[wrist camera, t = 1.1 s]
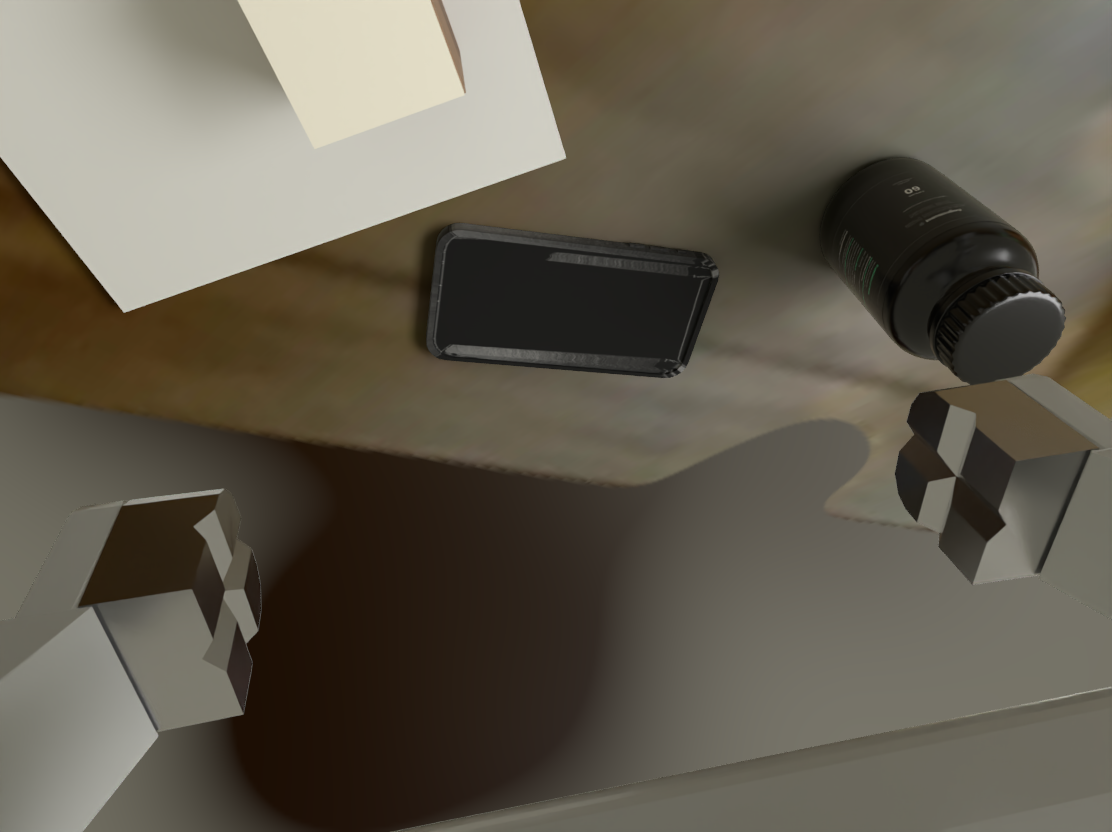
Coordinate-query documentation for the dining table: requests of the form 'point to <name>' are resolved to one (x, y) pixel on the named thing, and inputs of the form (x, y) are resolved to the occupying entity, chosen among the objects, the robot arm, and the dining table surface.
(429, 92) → the walnut cube
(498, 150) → the white mat
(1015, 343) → the supplement bottle
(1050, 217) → the dining table surface
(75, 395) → the dining table surface
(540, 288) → the phone
